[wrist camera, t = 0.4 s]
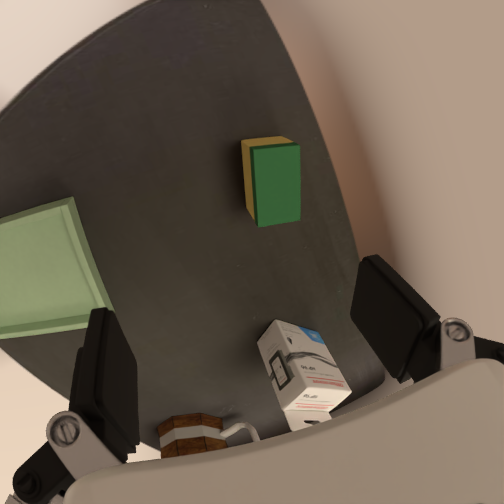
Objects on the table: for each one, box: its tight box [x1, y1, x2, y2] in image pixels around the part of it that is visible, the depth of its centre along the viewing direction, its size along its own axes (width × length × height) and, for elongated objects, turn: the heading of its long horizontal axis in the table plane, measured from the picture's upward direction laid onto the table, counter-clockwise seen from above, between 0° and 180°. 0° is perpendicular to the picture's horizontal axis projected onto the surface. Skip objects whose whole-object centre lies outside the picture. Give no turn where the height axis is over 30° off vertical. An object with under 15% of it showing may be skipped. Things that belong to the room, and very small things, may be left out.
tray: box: [0, 196, 115, 339], centre depth 26 cm, size 20×15×2 cm
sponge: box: [241, 136, 300, 227], centre depth 27 cm, size 7×4×4 cm, turn 4°
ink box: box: [257, 319, 352, 431], centre depth 36 cm, size 8×5×15 cm, turn 57°
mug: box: [157, 413, 260, 459], centre depth 45 cm, size 20×14×15 cm
